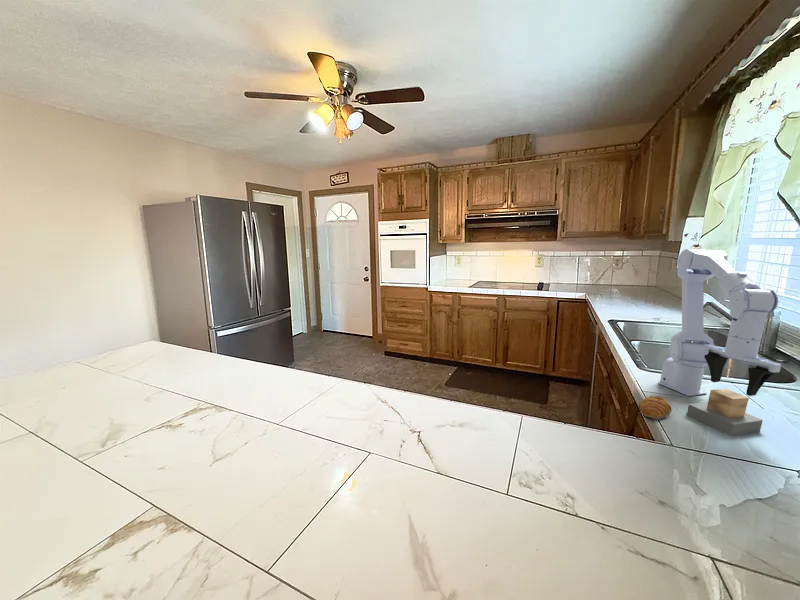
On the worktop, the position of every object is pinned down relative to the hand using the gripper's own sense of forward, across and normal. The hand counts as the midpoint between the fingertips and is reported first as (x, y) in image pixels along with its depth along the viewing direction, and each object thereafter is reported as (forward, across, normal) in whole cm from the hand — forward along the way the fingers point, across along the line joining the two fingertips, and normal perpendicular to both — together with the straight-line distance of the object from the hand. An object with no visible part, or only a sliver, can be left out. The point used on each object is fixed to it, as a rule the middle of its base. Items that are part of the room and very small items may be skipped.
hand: (732, 387), depth 84 cm
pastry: (+10, +7, +14) cm, 19 cm away
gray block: (+9, 0, +1) cm, 9 cm away
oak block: (+6, 0, +1) cm, 6 cm away
